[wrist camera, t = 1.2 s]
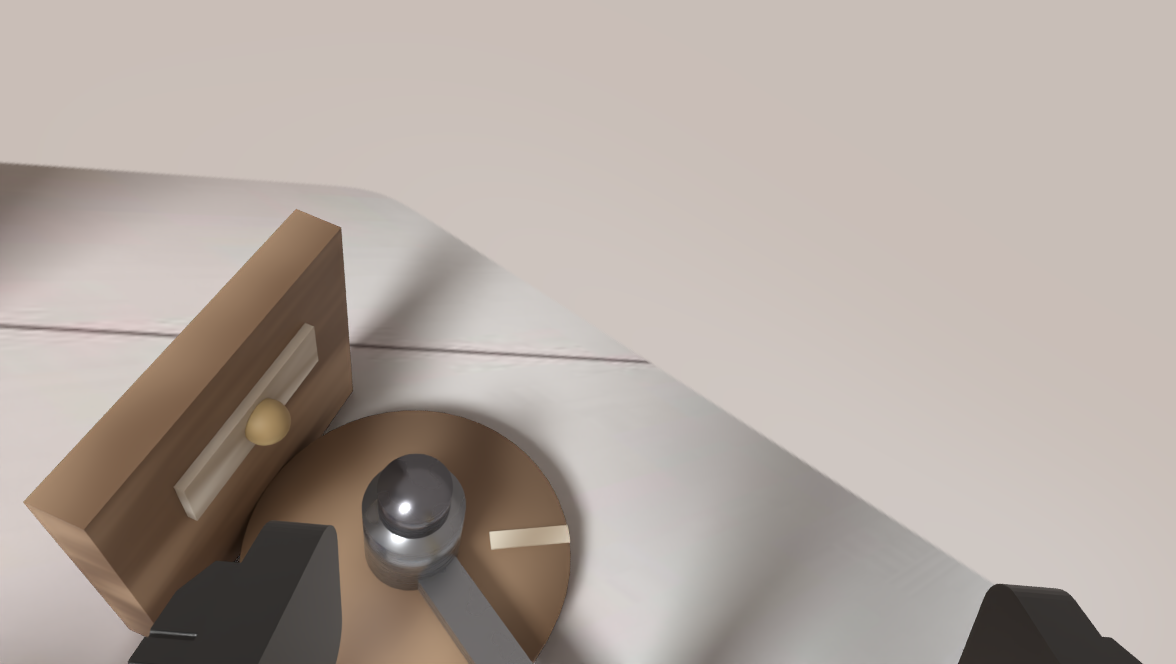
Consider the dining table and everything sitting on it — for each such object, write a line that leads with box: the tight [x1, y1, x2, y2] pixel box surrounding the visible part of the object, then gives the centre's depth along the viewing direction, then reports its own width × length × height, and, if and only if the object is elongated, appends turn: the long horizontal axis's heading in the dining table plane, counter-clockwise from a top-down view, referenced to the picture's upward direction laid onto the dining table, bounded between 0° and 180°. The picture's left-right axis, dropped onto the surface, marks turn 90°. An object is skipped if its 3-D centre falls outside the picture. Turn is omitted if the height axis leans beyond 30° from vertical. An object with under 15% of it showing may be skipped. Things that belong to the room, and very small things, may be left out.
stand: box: [23, 209, 571, 664], centre depth 32 cm, size 16×14×12 cm
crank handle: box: [362, 454, 533, 664], centre depth 27 cm, size 18×4×15 cm, turn 40°
